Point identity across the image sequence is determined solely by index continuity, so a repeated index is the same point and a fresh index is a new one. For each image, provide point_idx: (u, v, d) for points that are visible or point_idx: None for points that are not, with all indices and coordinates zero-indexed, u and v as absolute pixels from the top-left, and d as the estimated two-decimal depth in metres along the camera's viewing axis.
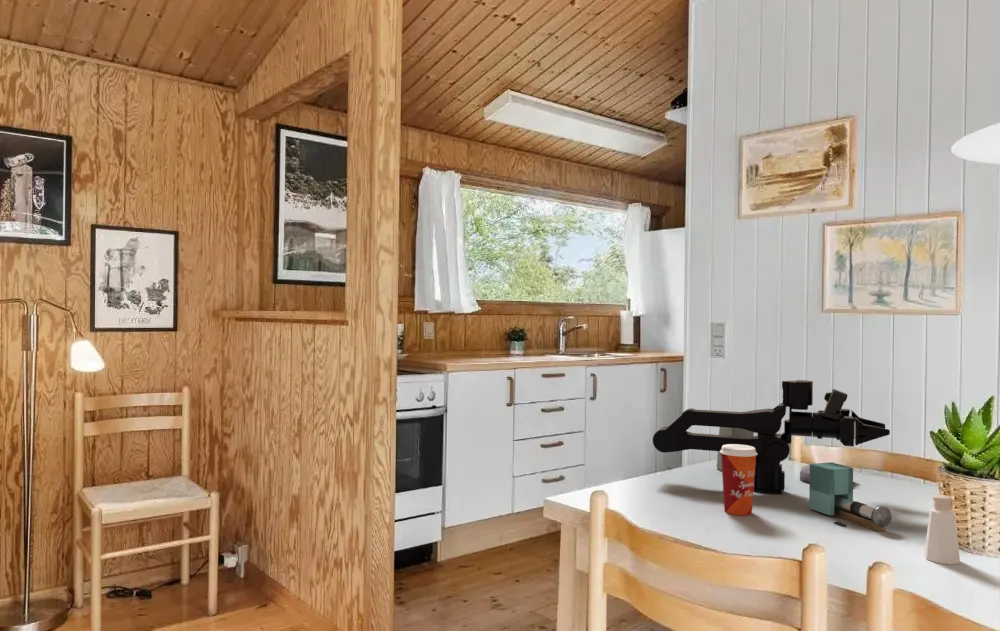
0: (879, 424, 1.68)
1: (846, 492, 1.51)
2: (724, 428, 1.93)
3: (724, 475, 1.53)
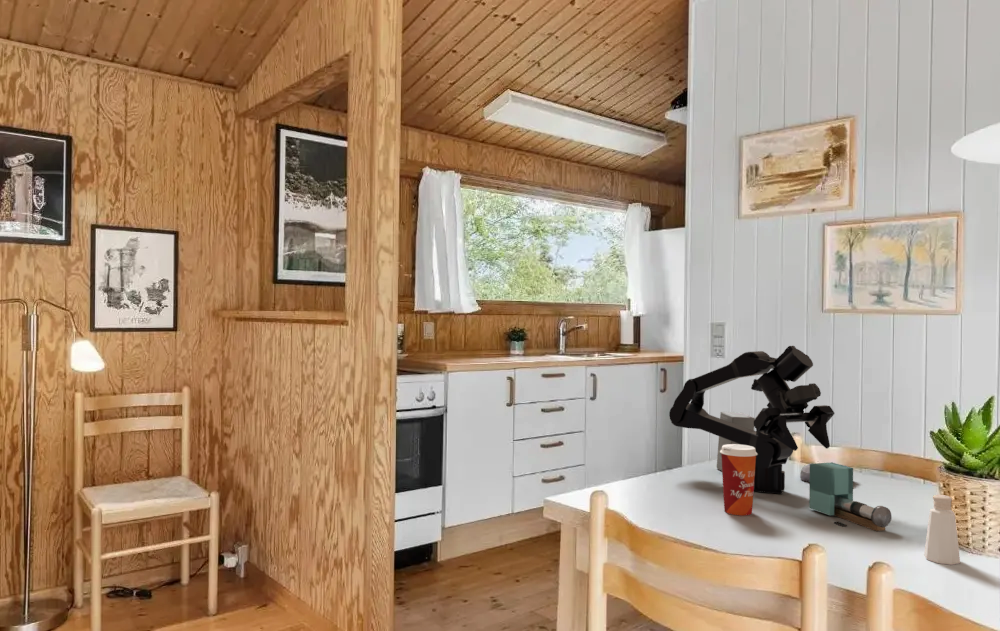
0: (825, 442, 1.61)
1: (846, 492, 1.51)
2: None
3: (724, 475, 1.53)
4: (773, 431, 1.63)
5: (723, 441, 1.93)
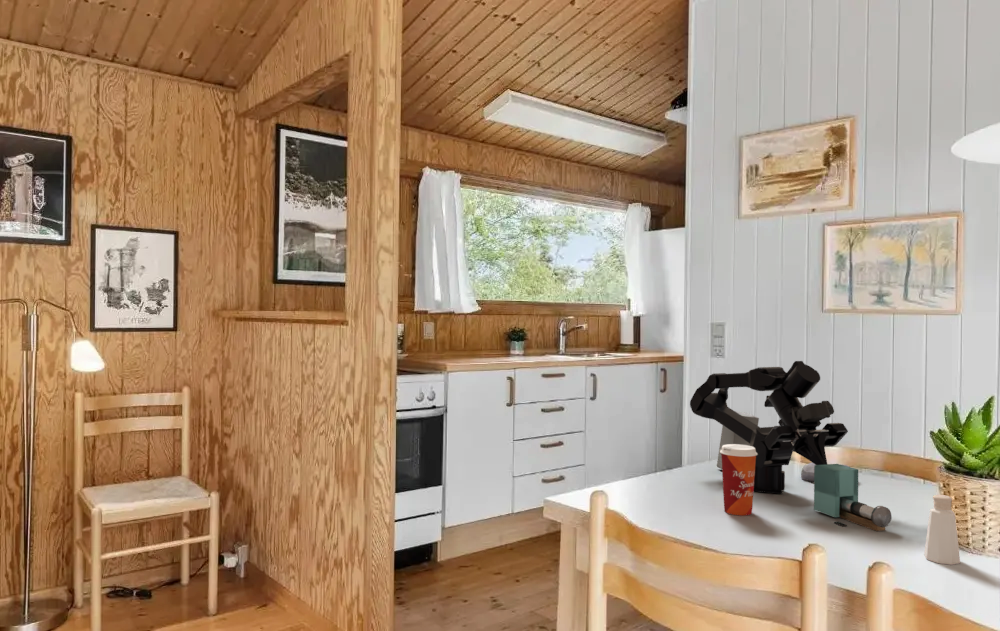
0: None
1: (851, 494, 1.50)
2: None
3: (724, 475, 1.53)
4: (800, 449, 1.60)
5: (725, 440, 1.94)
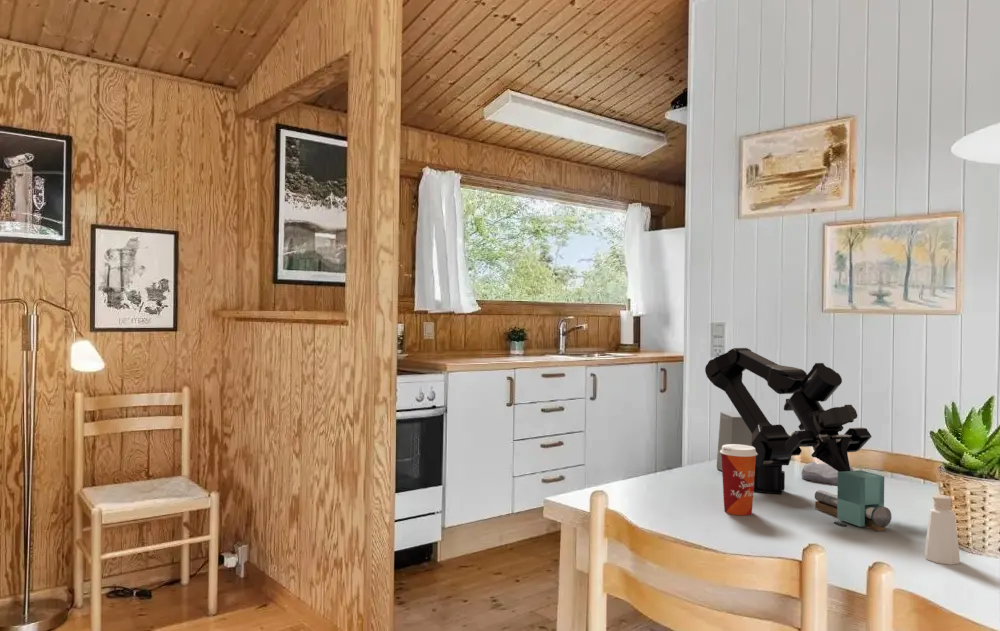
0: None
1: (877, 502, 1.44)
2: (724, 428, 1.93)
3: (724, 475, 1.53)
4: (822, 454, 1.54)
5: (723, 442, 1.93)
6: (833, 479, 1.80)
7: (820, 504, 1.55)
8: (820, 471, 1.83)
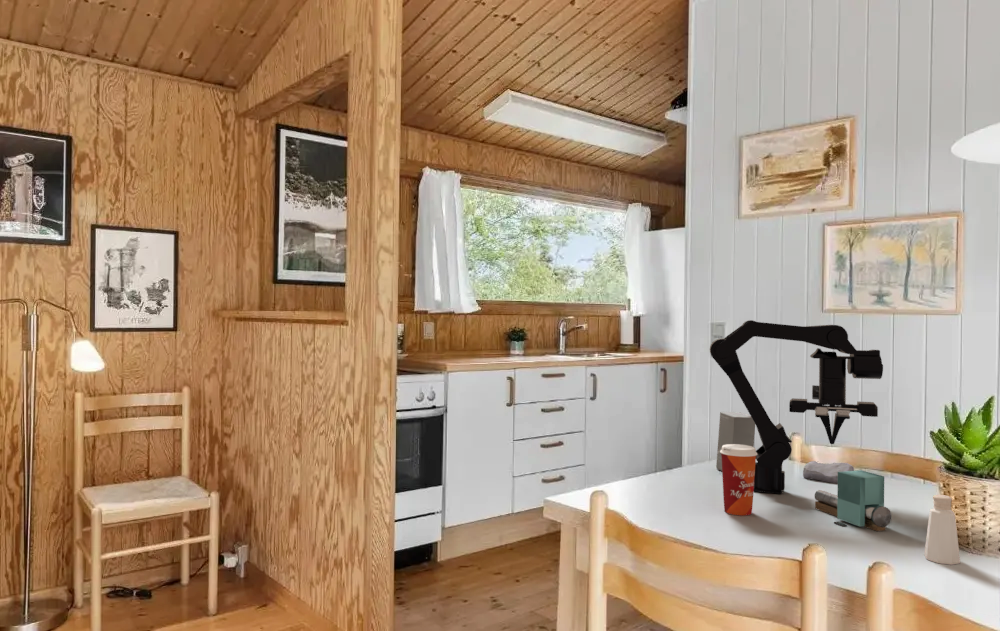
0: None
1: (877, 502, 1.44)
2: (725, 428, 1.93)
3: (724, 475, 1.53)
4: None
5: (723, 442, 1.93)
6: (834, 477, 1.81)
7: (820, 504, 1.55)
8: (821, 470, 1.85)
